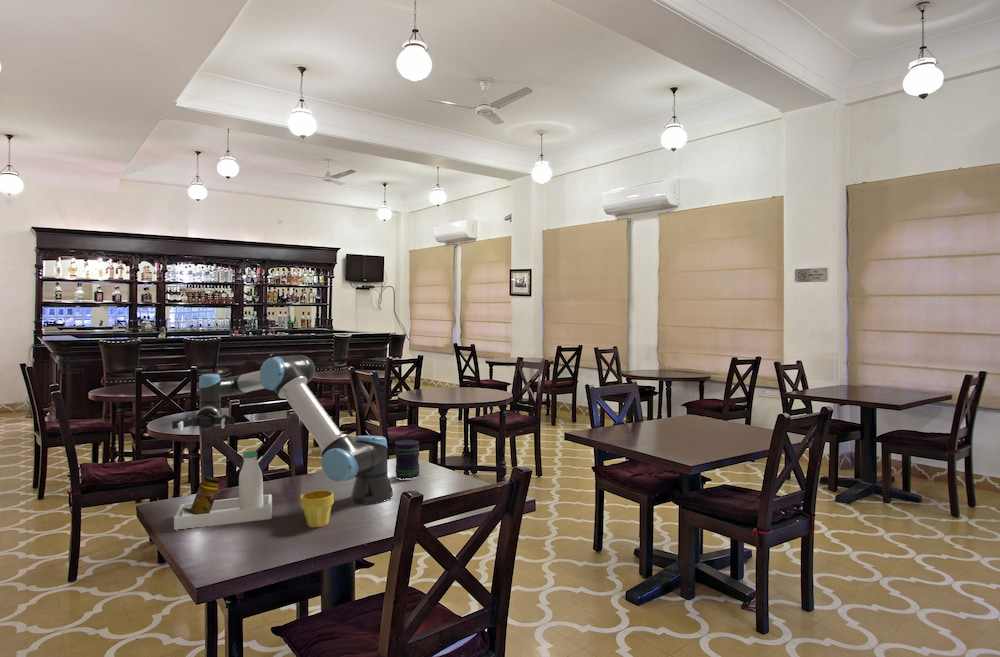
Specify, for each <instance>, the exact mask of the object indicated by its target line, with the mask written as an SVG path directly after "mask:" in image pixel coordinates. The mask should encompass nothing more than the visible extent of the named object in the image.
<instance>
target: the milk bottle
mask: <svg viewBox="0 0 1000 657" xmlns="http://www.w3.org/2000/svg"><path fill="white" fill-rule="evenodd" d="M242 459H243V462H242V467H241V470H240V471H239V476H238V498H239V509H240V510H241V509H250V508H258V507H263V495H264V481H263V479H264V478H263V472H262V470H261V467H260V466H259V463H258V451H256V450H249V451H248V450H247V451H245V452H243V453H242Z"/></svg>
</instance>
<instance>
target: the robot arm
mask: <svg viewBox="0 0 1000 657" xmlns="http://www.w3.org/2000/svg"><path fill="white" fill-rule="evenodd" d="M315 374H316V366H315V364H314V361H313V360H312V359H311V358H309V357H308V356H306V355H302V354H297V355H285V356H284V355H283V356H274V357H269V358H267V359H266V360H264V362H262V365H261V367H260V370H257V371H251V372H247V373H243V374H240V375H235V376H228V377H221V374H219V373H210V374H209V373H207V374H201V375H200V376H199V380H198V388H199V389H198V391H199V411H198V413H197V414H196V416H193V417H192V418H191V417H189V416H187V417H184V418H181V419H177V420H173V421H171V425H172V429H173V430H175V429H177V432H178V433H180V432H182V431H183V429H185V428H188V427H200V428H202V429H204V430H205V429H207V430H208V429H211V428H213V427H215V426H217V425H220V427H221V430H222V429H225V427H226V426H229V425H235V417H233V416H229V415H227V414H222V406H221V399H222V397H227V396H234V395H244V394H246V393H249V392H253V391H259V390H263V389H265V390H267V391H268V390H269V391H274V392H275V393H276V395H277V396H278V398H280V399H285V400H286V401H287V402H288V404H289V405H290V407H291V408H292V410H293V411H294V412H295V414H296V415H297V417H298V419H300V420H301V422H302V423H303V425H304V426H305V427H306V429H307V430H308V432H309V433H310V434H311V436H312V438H314V441H316V443H317V444H318V446H319V448H321V450H320V453H319V454H320V457H321V460H320V461H321V462H320V463H321V469H322V472H323V473H324V474H325V476H326V477H327V478H328V479H330V480H331V481H334V482H341V483H342V482H345V481H350V480H353V479H354V478H355V480H354V482H353V486H352V489H351V493H350V499H351V501H352V502H353V501H354V502H353V503H356V502H358V503H357V504H362V503H372V504H377V503H376V502H379V503H382V502H381V501H384V500H387V499H389V498H391V497H392V496H393V497H394V495H393V494H394V493H393V492H394V491H393V487H392V485H391V482H390V478H389V476H388V474H389V473H388V441H387V438H386V437H385V436H381V435H356V436H355V437H354V440H353V439H352V437H351V436H350V435H349V434H348V433H346V434H345V433H342V431H341V430H340V429H339V427H338V426H337V424H336V423H335V422H334V421H333V419H332V418H331V416H330V415H329V414H328V412H327V411H326V410H325V408H324V407H323V405H322V404H321V403H320V402H319V400H318V399H317V397H316V396H315V395H314V393H313V391H311V389H310V388H309V386H308V385H307V384H308V383H309V382H311V381H312V380H313V378H314V376H315ZM393 497H392V498H393ZM392 498H391V499H392ZM389 500H390V499H389ZM387 501H388V500H387ZM384 502H385V501H384Z"/></svg>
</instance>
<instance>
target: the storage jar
mask: <svg viewBox="0 0 1000 657" xmlns="http://www.w3.org/2000/svg"><path fill="white" fill-rule="evenodd" d="M419 443H420V442H419V440H416V439H402V440H397V441H395V444H394V445H395V447H394V448H395V449H394V451H395V453H394V454H395V463H396V464H395V476H396V477H397V478H401V479H403V478H404V479H405V478H413V477H417V476H419V477H420V464H419V454H420V452H419V451H420V445H419ZM396 477H395V478H396Z"/></svg>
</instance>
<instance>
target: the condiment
mask: <svg viewBox="0 0 1000 657" xmlns="http://www.w3.org/2000/svg"><path fill="white" fill-rule="evenodd" d="M220 483H221V480H220V479H219V478H216V477H212V476H204V477H203V479H202V482H201V483H200V484H199V486H198V488H197V492H196V494H195V497H194V500H193V501H192V503H193V505H192V507H191V509H188V508H184V507H182V509H183V511H184V513H186V514H192V515H198V514H207V513H210V510H211V508H212V505H213V503H214V500H216V497H217V494H218V491H219V485H220Z"/></svg>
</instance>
